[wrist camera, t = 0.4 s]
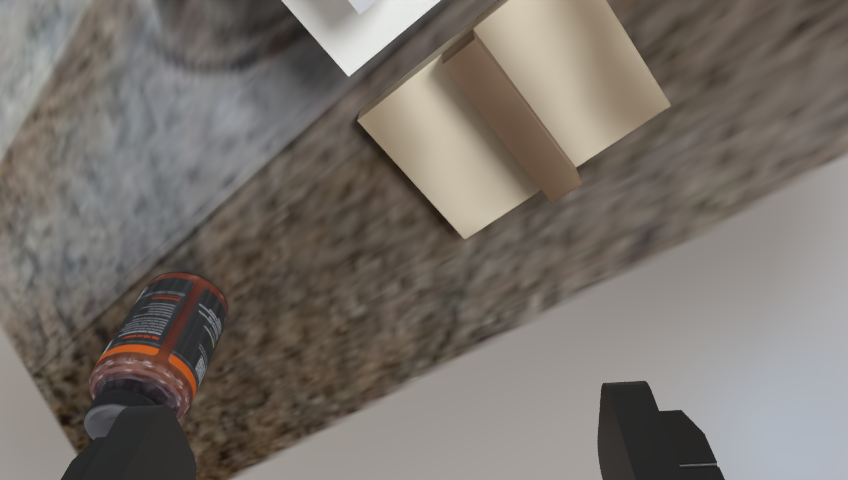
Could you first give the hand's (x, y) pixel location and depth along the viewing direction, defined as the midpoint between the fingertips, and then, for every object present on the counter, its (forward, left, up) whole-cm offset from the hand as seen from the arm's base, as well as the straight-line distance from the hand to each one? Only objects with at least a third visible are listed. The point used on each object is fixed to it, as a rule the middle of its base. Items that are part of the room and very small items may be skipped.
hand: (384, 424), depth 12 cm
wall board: (-2, +6, -26) cm, 27 cm away
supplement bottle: (+24, +4, -26) cm, 36 cm away
